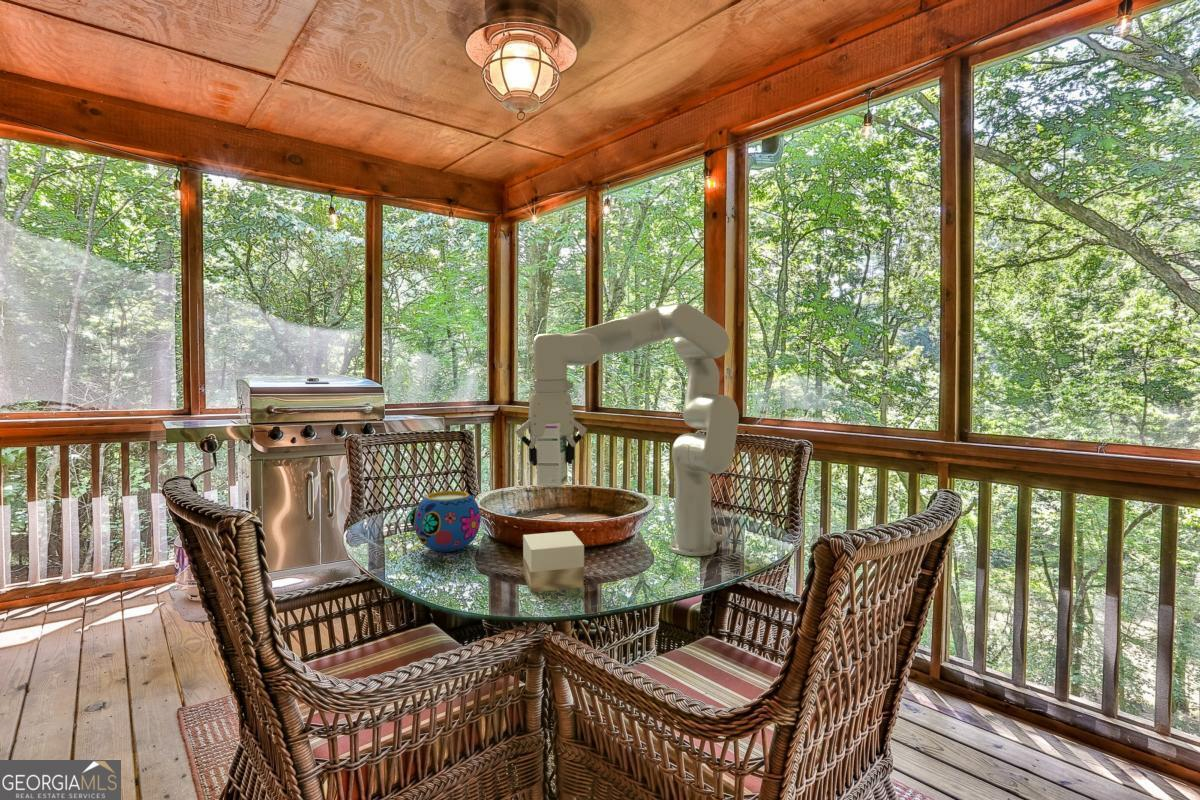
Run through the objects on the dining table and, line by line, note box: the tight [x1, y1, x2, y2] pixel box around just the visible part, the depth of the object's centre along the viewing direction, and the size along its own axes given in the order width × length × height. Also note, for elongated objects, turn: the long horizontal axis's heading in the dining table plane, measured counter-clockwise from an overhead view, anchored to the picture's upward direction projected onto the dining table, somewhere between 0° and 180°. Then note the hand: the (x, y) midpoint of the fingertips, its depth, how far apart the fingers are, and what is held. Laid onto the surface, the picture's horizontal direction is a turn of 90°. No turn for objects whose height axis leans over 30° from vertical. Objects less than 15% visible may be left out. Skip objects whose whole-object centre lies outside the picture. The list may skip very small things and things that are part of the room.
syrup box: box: [535, 423, 568, 487], centre depth 137 cm, size 6×6×14 cm
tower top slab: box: [522, 530, 585, 572], centre depth 138 cm, size 12×12×5 cm
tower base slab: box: [522, 556, 585, 593], centre depth 138 cm, size 12×12×5 cm
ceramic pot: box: [408, 490, 482, 553], centre depth 162 cm, size 18×18×15 cm
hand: (551, 463), depth 137 cm, fingers closed on syrup box, 7 cm apart
